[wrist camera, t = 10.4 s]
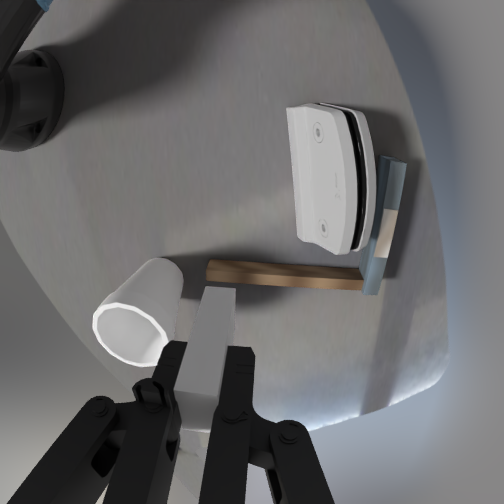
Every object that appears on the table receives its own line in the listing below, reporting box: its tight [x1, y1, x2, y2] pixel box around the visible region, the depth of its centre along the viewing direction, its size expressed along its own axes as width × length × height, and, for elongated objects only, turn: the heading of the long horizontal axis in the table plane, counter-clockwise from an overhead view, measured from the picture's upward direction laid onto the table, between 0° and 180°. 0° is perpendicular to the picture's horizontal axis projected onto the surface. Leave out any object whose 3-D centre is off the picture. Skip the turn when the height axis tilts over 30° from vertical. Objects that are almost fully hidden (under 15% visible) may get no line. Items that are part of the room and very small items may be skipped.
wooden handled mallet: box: [206, 155, 407, 295], centre depth 36 cm, size 22×17×4 cm
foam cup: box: [93, 257, 184, 367], centre depth 37 cm, size 10×9×13 cm
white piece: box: [286, 103, 376, 255], centre depth 32 cm, size 17×5×10 cm, turn 7°
